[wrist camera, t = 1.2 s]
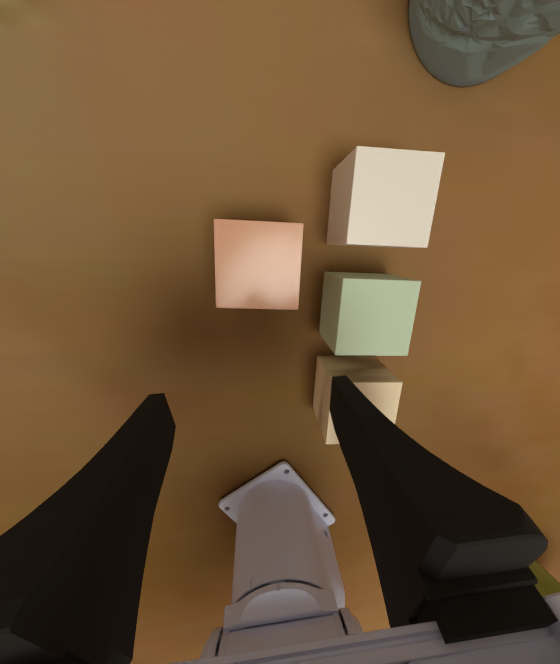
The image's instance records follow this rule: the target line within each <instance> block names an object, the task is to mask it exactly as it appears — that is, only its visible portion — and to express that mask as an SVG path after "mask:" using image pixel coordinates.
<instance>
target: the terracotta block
mask: <svg viewBox="0 0 560 664" xmlns="http://www.w3.org/2000/svg"><path fill="white" fill-rule="evenodd" d="M302 238H303V223H286V222H266V221H247V220H227V219H214V246H215V284H216V308H247V309H291V310H298V304H299V287H300V271H301V255H302Z"/></svg>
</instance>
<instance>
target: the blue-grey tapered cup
mask: <svg viewBox="0 0 560 664" xmlns="http://www.w3.org/2000/svg"><path fill="white" fill-rule="evenodd" d="M409 27H410V34H411V38H412V42H413V45H414V48H415V51H416V53H417V55H418V57H419V59H420V61H421V63H422V64H423V65H424V67H425V68H426V69H427V71H428V72H430V73H431V74H432V75H433V76H434V77H436V78H437V79H438V80H440V81H441V82H444V83H446V84H449V85H454V86H460V87H465V86H471V85H477V84H480V83H483V82H487V81H489V80H490V79H492V78H494V77H496V76H498V75H499V74H501V73H503V72H504V71H506V70H508V69H509V68H511V67H513V66H514V65H516V64H518V63H519V62H521V61H522V60H524V59H526V58H527V57H529V56H530V55H532V54H533V53H535V52H536V51H538V50H539V49H540V48H542V47H543V46H544V45H545V44H546V43H547V42H548V41H549V40H550V39H551V38H553V37H554V36H555V35H557V34H559V33H560V0H409Z"/></svg>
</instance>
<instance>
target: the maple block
mask: <svg viewBox="0 0 560 664" xmlns="http://www.w3.org/2000/svg"><path fill="white" fill-rule="evenodd" d="M343 375H346V376H347V377H348V378H349V379H350V380H351V381H352V382H353V383H354V384H355V386H356V387H357V388H358V389H359V390H360V391H361V392H362V393H363V394H364V395H365V396H366V397H367V398H368V399H369V400H370V401H371V402H372V403H373V404H374V405H375V406H376V407H377V408H378V409H379V410H380V411H381V412H382V413H383V414H384V415H385V416H386V417H387V418H388V419H389V420H390V421H392V422H393V423H394V424H395V420H396V415H397V410H398V404H399V399H400V394H401V389H402V383H403V382H402V381H400V380H399V379H398V378H397V377H396V376H395V375H394V374H393V373H392V372H391V371H390V370H389V369H388V368H386V367H385V366H384V365H383V364H382V363H381V362H380V361H379V360H378V359H377V358H376V357H375V356H317V364H316V376H315V387H314V399H313V409H314V412H315V415H316V418H317V420H318V423H319V426H320V429H321V432H322V435H323V437H324V440H325V443H326V444H339V441H338V439H337V436H336V433H335V430H334V426H333V422H332V418H331V414H330V410H329V408H330V396H331V384H332V377H333V376H343Z"/></svg>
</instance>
